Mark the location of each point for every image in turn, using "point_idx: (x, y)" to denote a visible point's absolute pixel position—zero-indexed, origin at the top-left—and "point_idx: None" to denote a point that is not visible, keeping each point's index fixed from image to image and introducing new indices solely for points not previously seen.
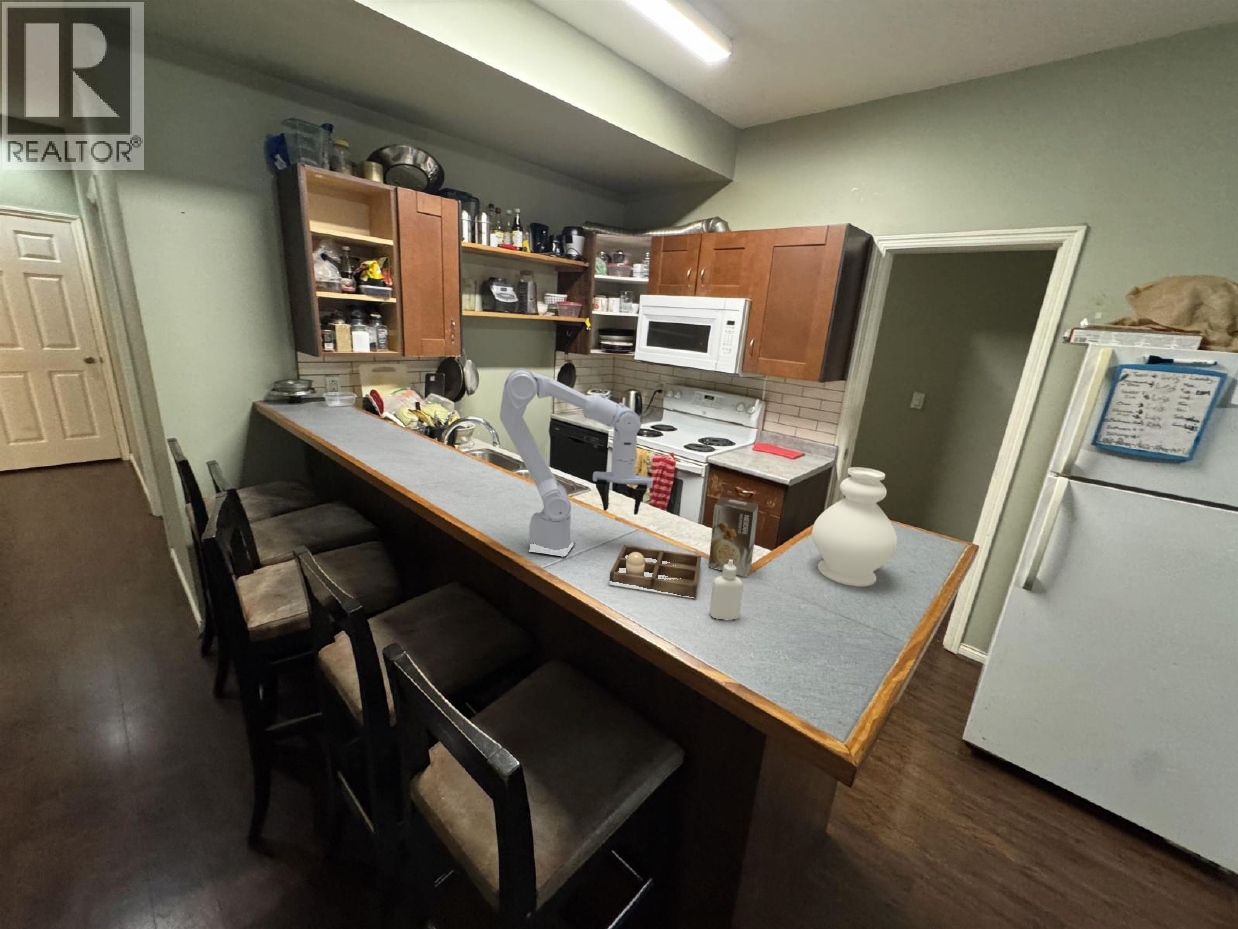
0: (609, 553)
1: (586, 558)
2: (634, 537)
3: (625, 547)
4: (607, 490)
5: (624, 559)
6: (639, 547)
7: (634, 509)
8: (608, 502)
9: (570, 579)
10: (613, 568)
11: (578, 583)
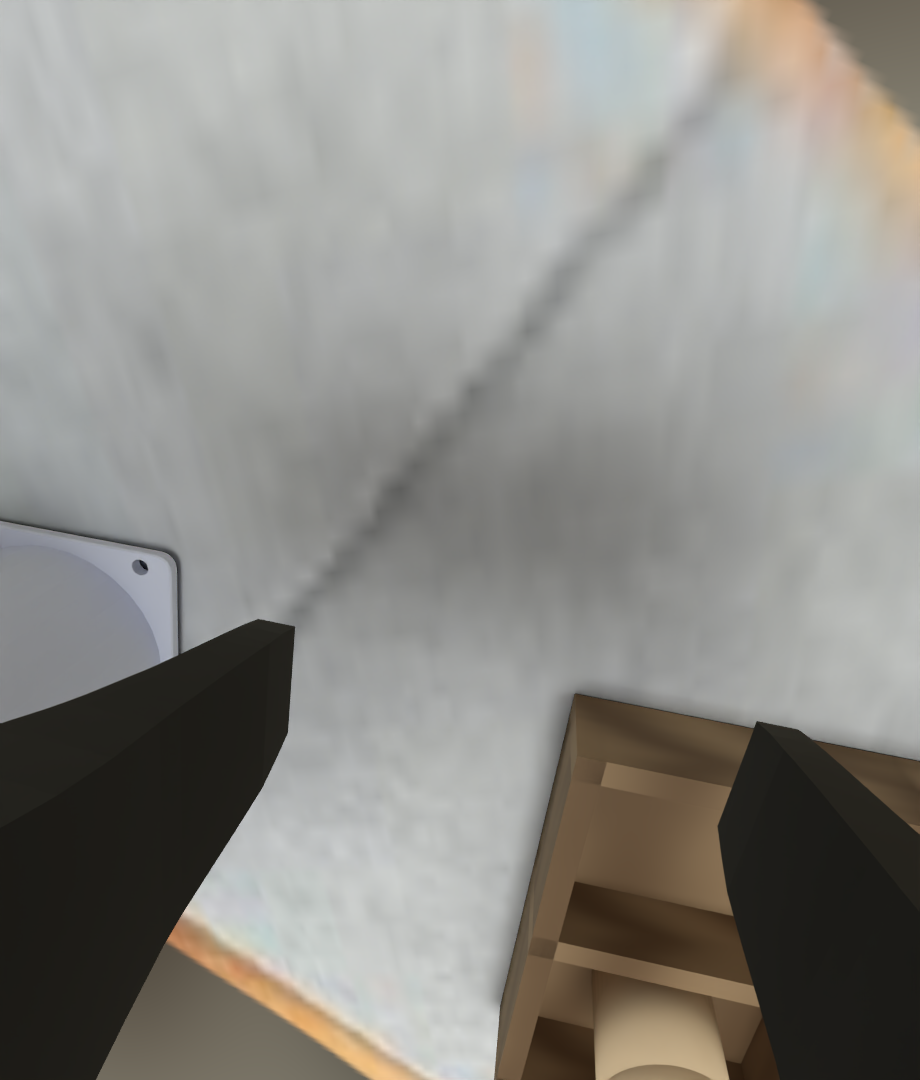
0: (463, 658)
1: (313, 740)
2: (687, 302)
3: (589, 799)
4: (73, 954)
5: (582, 961)
6: (718, 791)
7: (741, 927)
8: (254, 663)
9: (284, 954)
10: (511, 1053)
11: (335, 985)
